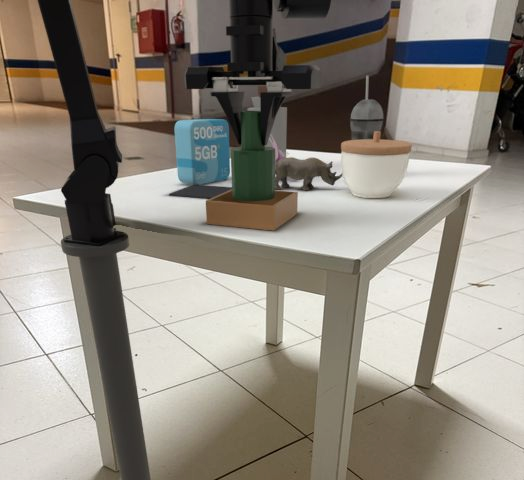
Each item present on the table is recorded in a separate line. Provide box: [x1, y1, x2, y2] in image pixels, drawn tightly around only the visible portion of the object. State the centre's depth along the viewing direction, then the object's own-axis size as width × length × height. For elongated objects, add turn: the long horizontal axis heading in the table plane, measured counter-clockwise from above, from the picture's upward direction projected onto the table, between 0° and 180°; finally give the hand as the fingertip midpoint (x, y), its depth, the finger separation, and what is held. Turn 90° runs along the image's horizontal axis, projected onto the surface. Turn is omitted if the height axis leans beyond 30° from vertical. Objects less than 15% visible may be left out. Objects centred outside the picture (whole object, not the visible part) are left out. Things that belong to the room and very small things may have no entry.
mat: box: [168, 184, 232, 200], centre depth 97 cm, size 10×10×1 cm
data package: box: [174, 118, 231, 185], centre depth 104 cm, size 12×4×12 cm, turn 144°
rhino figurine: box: [275, 156, 343, 191], centre depth 98 cm, size 4×14×6 cm, turn 81°
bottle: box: [230, 110, 276, 201], centre depth 74 cm, size 7×7×12 cm
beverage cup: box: [349, 75, 384, 140], centre depth 109 cm, size 7×7×20 cm
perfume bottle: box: [247, 85, 288, 170], centre depth 118 cm, size 7×7×18 cm
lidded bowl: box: [340, 130, 413, 199], centre depth 92 cm, size 13×13×11 cm
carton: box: [205, 189, 299, 232], centre depth 78 cm, size 11×11×4 cm
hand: (252, 144), depth 73 cm, fingers closed on bottle, 3 cm apart
